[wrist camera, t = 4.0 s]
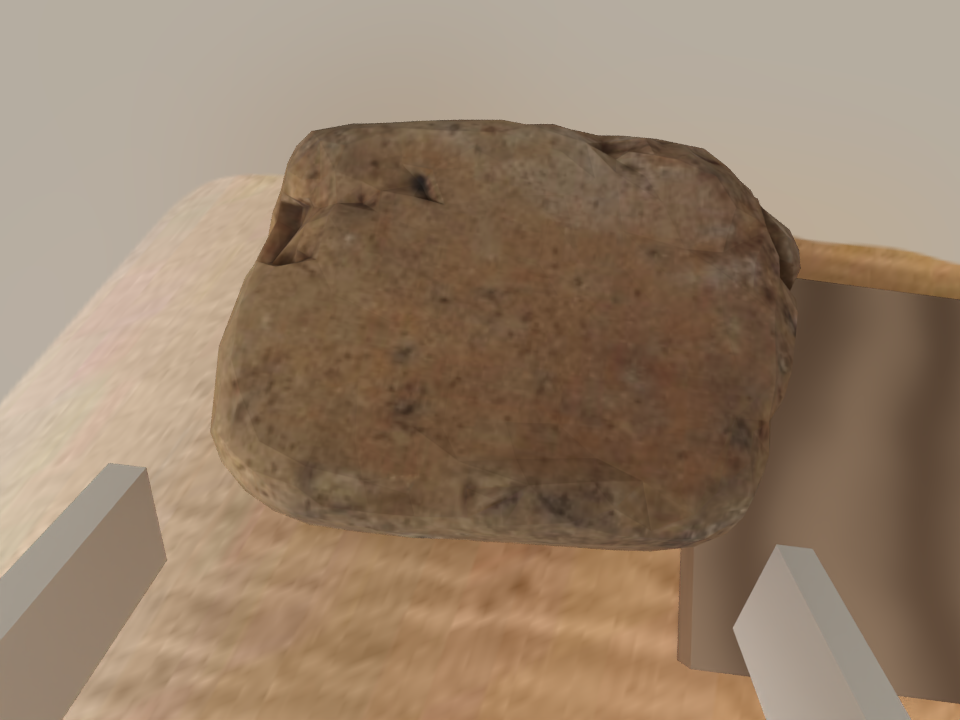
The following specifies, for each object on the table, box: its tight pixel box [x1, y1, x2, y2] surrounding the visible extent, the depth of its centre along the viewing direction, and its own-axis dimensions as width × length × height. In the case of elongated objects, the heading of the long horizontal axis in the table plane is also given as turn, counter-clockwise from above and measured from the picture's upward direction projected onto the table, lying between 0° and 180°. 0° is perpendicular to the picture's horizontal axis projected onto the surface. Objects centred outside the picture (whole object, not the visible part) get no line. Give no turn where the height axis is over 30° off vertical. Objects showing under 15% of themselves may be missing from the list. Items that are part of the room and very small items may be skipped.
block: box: [210, 120, 801, 551], centre depth 17 cm, size 11×8×20 cm
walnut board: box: [677, 278, 960, 704], centre depth 27 cm, size 22×18×2 cm
